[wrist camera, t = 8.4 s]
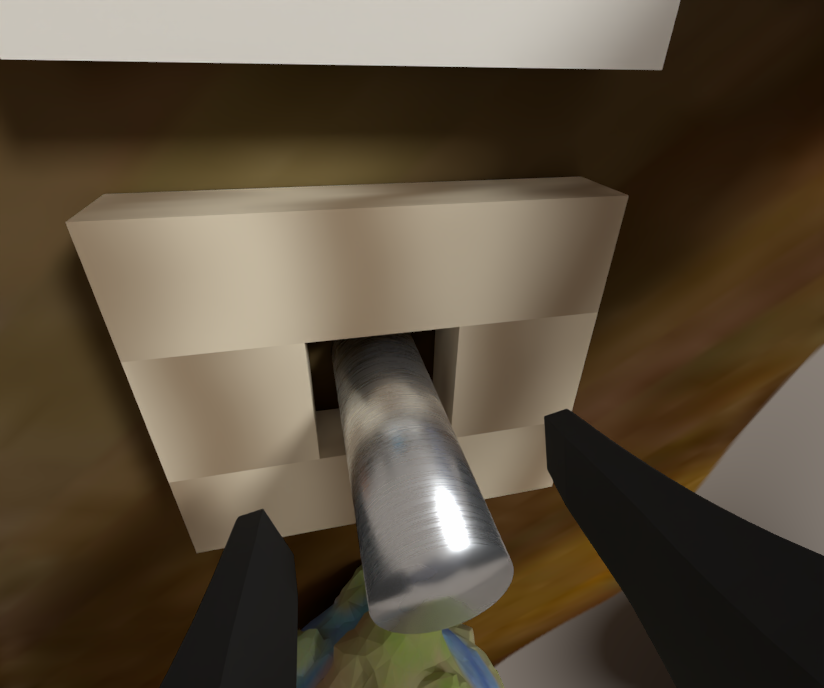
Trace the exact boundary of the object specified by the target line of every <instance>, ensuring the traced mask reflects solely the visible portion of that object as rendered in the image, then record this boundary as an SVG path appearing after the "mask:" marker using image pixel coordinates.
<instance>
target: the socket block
mask: <svg viewBox="0 0 824 688" xmlns="http://www.w3.org/2000/svg"><path fill="white" fill-rule="evenodd" d="M679 4H680V0H0V59H9V60H70V61H131V62H193V63H254V64H316V65H377V66H438V67H500V68H561V69H622V70H662V68H663V64H664V61H665V57H666V53H667V49H668V46H669V42H670V38H671V34H672V30H673V27H674V23H675V19H676V15H677V12H678V8H679Z"/></svg>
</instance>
